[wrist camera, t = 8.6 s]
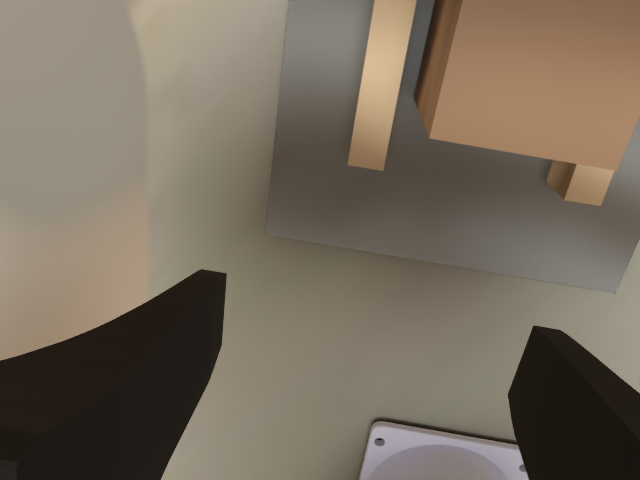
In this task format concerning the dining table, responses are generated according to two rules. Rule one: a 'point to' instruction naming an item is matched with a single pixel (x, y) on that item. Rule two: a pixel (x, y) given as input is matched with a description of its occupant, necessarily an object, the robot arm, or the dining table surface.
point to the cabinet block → (533, 77)
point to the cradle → (427, 164)
